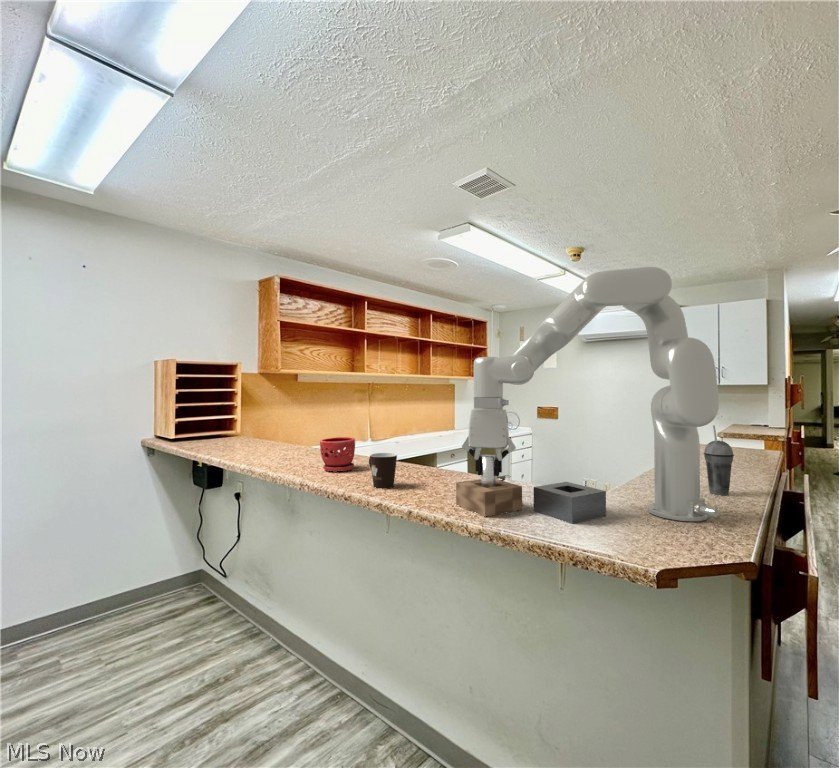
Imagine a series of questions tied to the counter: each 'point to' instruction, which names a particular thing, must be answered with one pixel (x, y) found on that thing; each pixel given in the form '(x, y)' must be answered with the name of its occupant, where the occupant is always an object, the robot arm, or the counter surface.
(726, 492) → the beverage cup
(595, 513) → the socket block
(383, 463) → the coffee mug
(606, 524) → the counter surface
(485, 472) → the silver metal cylinder
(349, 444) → the plant pot
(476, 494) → the block
